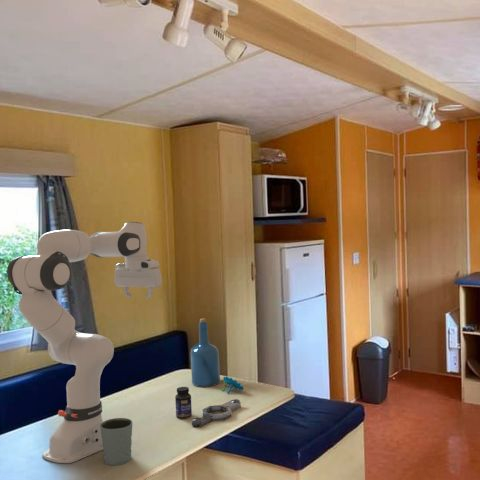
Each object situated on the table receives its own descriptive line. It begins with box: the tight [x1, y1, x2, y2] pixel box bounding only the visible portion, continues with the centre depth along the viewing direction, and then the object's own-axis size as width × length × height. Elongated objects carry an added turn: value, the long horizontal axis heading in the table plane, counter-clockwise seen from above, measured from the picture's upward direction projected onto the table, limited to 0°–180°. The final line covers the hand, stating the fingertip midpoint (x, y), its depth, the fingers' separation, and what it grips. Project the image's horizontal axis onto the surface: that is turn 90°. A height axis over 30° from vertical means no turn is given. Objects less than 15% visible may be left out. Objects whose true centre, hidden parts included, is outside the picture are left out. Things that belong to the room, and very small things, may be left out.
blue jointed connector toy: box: [221, 375, 244, 395], centre depth 245 cm, size 11×6×10 cm
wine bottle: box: [190, 317, 221, 388], centre depth 259 cm, size 14×13×30 cm
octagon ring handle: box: [191, 398, 242, 429], centre depth 217 cm, size 26×11×3 cm, turn 142°
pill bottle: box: [174, 386, 193, 420], centre depth 218 cm, size 6×6×11 cm
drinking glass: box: [100, 417, 133, 466], centre depth 182 cm, size 10×10×12 cm
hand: (138, 298), depth 221 cm, fingers open, 8 cm apart
